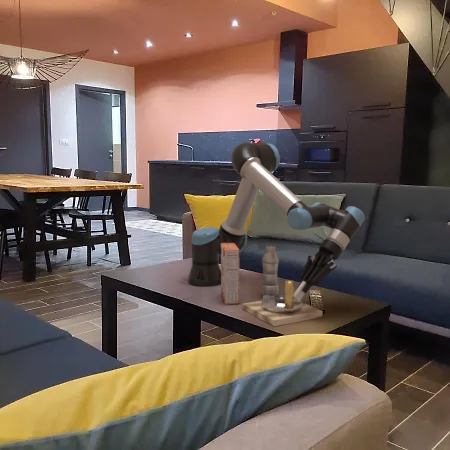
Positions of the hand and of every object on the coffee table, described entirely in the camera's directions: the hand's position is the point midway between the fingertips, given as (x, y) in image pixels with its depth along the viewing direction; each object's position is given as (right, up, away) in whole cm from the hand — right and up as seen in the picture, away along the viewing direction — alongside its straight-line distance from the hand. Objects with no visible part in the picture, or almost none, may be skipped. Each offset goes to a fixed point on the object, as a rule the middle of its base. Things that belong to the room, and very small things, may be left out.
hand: (295, 298), depth 159 cm
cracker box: (-22, -4, +23) cm, 32 cm away
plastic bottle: (-6, -3, +27) cm, 28 cm away
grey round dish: (-4, -4, +6) cm, 8 cm away
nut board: (-4, -6, +7) cm, 10 cm away
